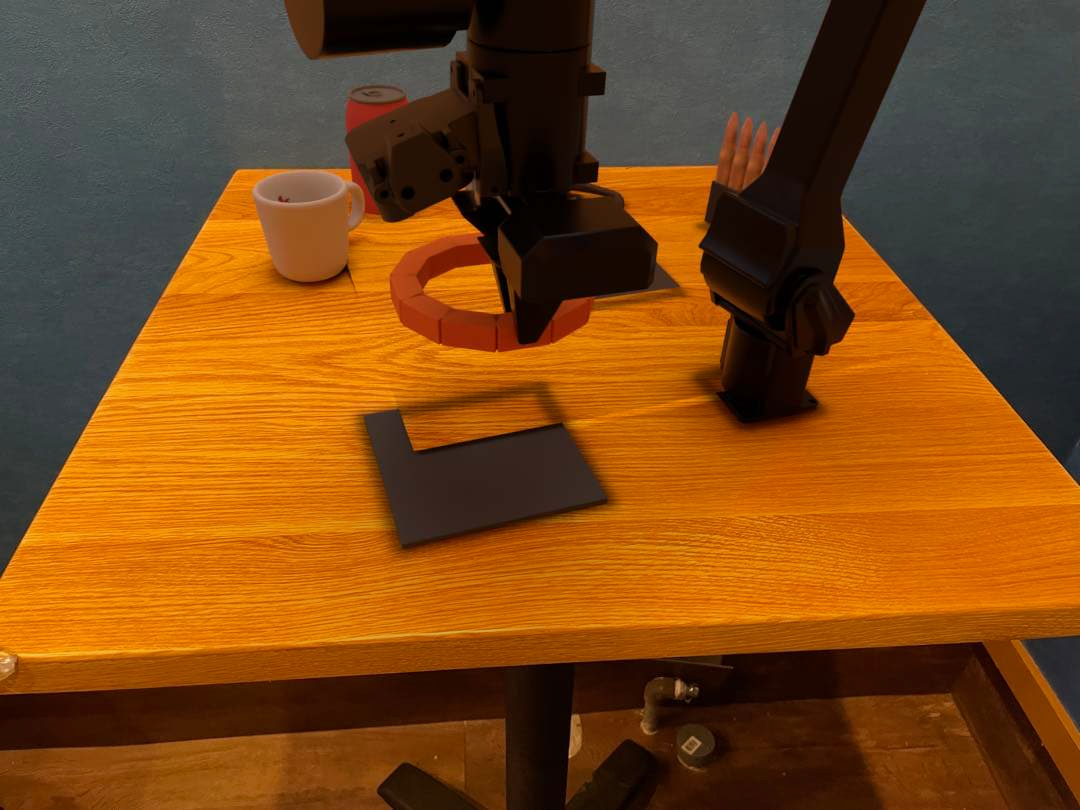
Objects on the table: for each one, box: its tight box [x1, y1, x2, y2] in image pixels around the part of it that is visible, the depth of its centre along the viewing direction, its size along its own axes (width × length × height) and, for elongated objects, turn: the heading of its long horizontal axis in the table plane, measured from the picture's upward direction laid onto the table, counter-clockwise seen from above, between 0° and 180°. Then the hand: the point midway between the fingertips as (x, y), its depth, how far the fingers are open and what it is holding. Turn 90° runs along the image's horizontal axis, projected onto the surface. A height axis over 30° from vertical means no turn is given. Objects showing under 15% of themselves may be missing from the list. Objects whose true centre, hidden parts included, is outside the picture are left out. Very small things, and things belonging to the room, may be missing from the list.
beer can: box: [344, 84, 409, 216], centre depth 83 cm, size 7×7×12 cm
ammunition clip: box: [703, 110, 781, 224], centre depth 79 cm, size 11×2×12 cm, turn 37°
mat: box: [363, 408, 609, 550], centre depth 54 cm, size 13×13×1 cm
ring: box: [388, 231, 595, 353], centre depth 50 cm, size 12×12×2 cm
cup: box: [251, 169, 365, 283], centre depth 74 cm, size 11×8×8 cm
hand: (521, 333), depth 46 cm, fingers closed on ring, 2 cm apart
